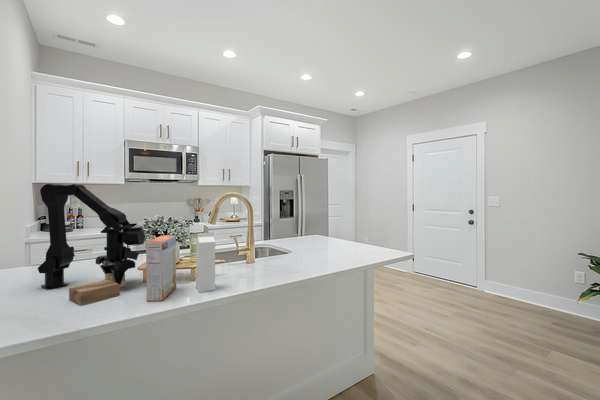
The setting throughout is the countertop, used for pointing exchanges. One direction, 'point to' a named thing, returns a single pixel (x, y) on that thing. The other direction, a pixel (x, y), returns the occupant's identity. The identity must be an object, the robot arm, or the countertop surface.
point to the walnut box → (93, 292)
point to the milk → (205, 262)
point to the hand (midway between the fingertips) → (115, 283)
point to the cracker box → (160, 267)
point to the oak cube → (111, 278)
